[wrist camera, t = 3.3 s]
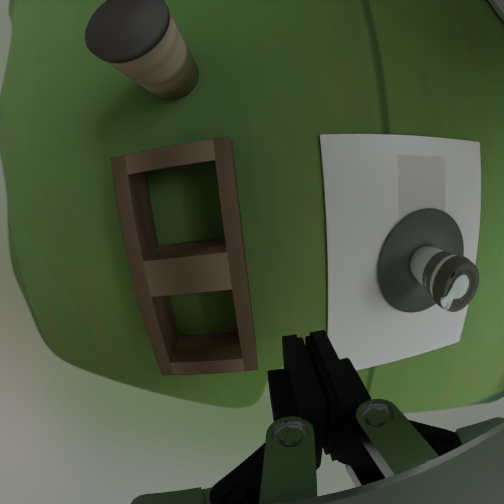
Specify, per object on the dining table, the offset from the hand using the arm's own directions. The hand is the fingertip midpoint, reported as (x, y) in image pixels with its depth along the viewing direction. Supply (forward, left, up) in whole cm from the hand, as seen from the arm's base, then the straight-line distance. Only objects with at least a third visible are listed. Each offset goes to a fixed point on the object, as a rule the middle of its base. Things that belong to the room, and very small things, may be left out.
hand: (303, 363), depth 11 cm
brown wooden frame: (+5, -2, -8) cm, 10 cm away
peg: (+5, -13, -8) cm, 16 cm away
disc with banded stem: (-10, 0, -8) cm, 13 cm away
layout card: (-10, 0, -8) cm, 12 cm away
